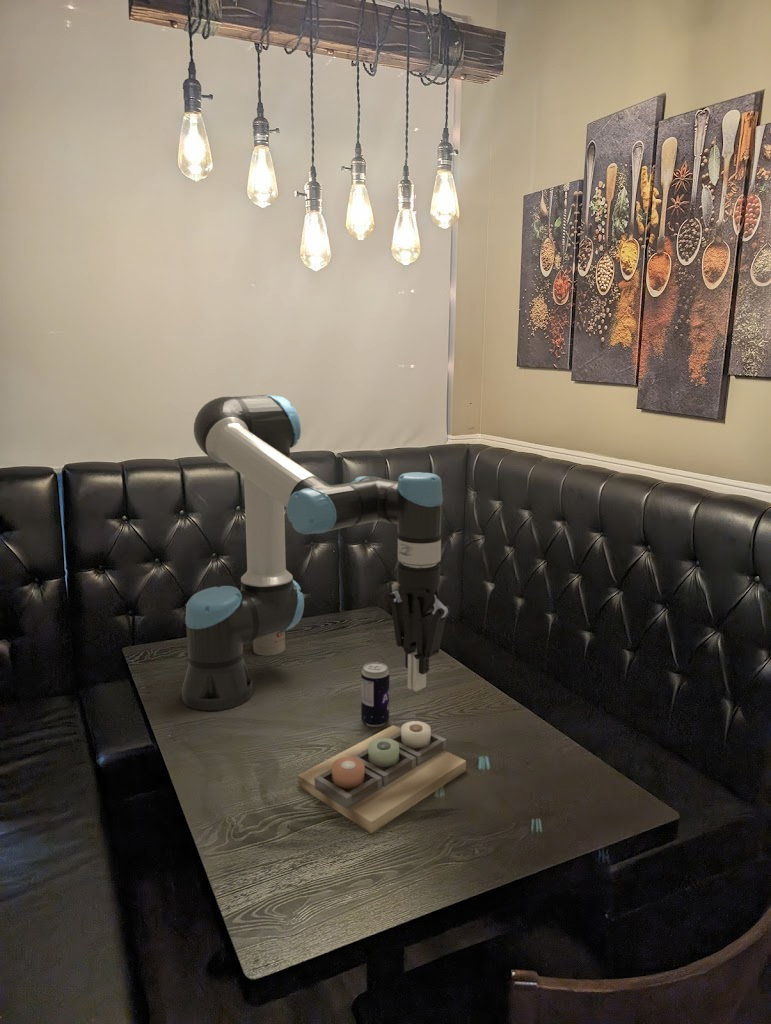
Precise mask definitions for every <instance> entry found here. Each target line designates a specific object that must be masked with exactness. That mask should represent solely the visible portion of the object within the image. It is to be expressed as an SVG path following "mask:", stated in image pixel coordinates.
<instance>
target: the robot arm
mask: <svg viewBox="0 0 771 1024" xmlns="http://www.w3.org/2000/svg"><path fill="white" fill-rule="evenodd" d="M301 429H302V426H301V421H300V417H299V413H298V411H297V409H296V408H295V407H294V406H293V404H292V403H291V402H290V400H288V399H287V398H285V397H283V396H280V395H269V394H268V395H267V394H262V395H261V394H260V395H259V394H258V395H245V396H244V395H241V396H221V397H217V398H214V399H212V400H210V401H208V402H207V403H205V404H204V405H203V406H202V407H201V408H200V410H199V411H198V413H197V414H196V416H195V420H194V423H193V435H194V438H195V441H196V443H197V446H198V447H199V449H200V450H201V451H202V452H203V453H204V454H205V455H206V456H207V457H209V458H210V459H211V460H213V461H215V462H217V463H220V464H227V465H228V466H230V467H231V468H233V469H234V470H235V471H236V472H238V473H239V474H241V475H242V476H243V483H244V485H243V487H244V490H243V491H244V510H245V536H246V537H245V539H246V540H245V543H246V546H245V547H246V566H247V567H246V569H247V570H246V572H245V573H244V574H243V575H242V576H241V577H240V583H241V584H240V590H239V588H238V587H236V586H233V585H221V586H213V587H212V586H211V587H208V588H205V589H203V590H200V591H198V592H196V593H194V594H193V595H192V596H191V597H190V598H189V599H188V601H187V602H186V604H185V605H186V606H185V618H184V619H185V620H184V622H185V626H186V640H187V641H186V642H187V655H188V656H187V658H188V666H187V669H186V673H185V676H184V680H183V683H182V687H181V700H182V702H183V703H184V705H186V706H187V707H188V708H191V709H194V710H199V711H220V710H221V711H222V710H226V709H228V710H229V709H231V708H234V707H237V706H239V705H243V703H245V702H246V701H248V700H249V699H250V698H251V697H252V695H253V680H252V677H251V676H250V675H251V674H250V673H249V670H248V667H247V665H246V663H245V659H244V644H247V643H251V642H253V641H254V640H257V639H260V638H264V637H267V636H270V635H274V634H279V633H282V632H284V631H287V630H290V629H293V628H294V627H296V626H297V625H298V624H299V622H300V621H301V619H302V617H303V614H304V610H305V609H304V608H305V598H304V593H303V592H302V591H301V590H302V588H301V586H300V585H299V583H298V582H297V581H296V580H294V578H293V574H291V572H289V570H287V568H286V566H287V565H286V564H287V562H286V523H285V522H286V521H285V520H286V519H285V518H286V517H285V508H286V513H287V518H288V521H289V523H291V524H292V528H293V530H295V531H296V532H297V533H299V534H302V535H311V534H313V535H314V534H317V535H320V534H325V533H327V532H330V531H335V530H339V529H343V528H348V527H355V526H358V525H359V526H360V525H364V524H369V523H373V522H385V523H388V524H393V525H397V560H398V563H397V565H396V566H397V569H396V571H397V573H396V575H397V576H396V583H397V584H398V585H399V586H398V587H397V590H395V591H393V592H388V593H387V594H386V595H387V599H388V602H389V605H390V607H391V614H392V621H393V627H394V636H395V641H396V645H397V646H398V647H401V648H402V649H403V651H404V653H405V657H404V658H405V659H404V663H405V668H406V669H407V686H406V687H407V689H409V690H412V691H413V692H418V691H420V690H422V689H424V688H427V673H428V672H429V671H430V658H431V657H433V656H436V655H437V654H439V653H440V648H441V644H442V638H443V634H444V630H445V625H446V620H447V617H448V616H449V614H450V613H451V610H452V608H451V607H450V606H449V605H444V604H443V603H442V601H440V594H439V591H438V588H439V585H440V583H441V564H440V562H441V559H442V558H441V557H442V533H441V531H442V513H443V502H444V498H443V487H442V485H443V484H442V479H441V477H440V476H439V475H437V474H436V473H431V472H421V471H415V472H414V471H413V472H404V473H401V474H400V475H399V476H398V479H397V480H398V481H395V480H391V479H386V478H381V477H378V476H372V475H371V476H367V475H365V476H364V475H363V476H358V477H356V478H355V479H353V481H351V482H347V483H346V482H345V483H341V484H339V483H338V484H329V483H327V482H325V481H324V480H322V479H321V478H319V477H317V476H316V475H315V474H313V473H312V472H310V471H309V470H307V469H306V468H304V467H303V466H301V465H300V464H298V463H297V462H295V461H294V460H293V459H291V449H292V448H294V447H295V446H296V445H297V444H298V443H299V440H300V438H301V433H302V432H301V431H302V430H301Z"/></svg>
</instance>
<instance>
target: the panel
mask: <svg viewBox="0 0 771 1024" xmlns="http://www.w3.org/2000/svg"><path fill="white" fill-rule="evenodd" d="M379 738H388V739H392V740H394V741H396V742H397V743H398V744H399V761H398V763H397V764H395V765H393V766H390V767H377V766H374V765H372V764H371V763H370V762H369V760H368V745H369V743H370V742H371V741H373V740H375V739H379ZM343 757H355V758H358V759H360V760H362V761H363V763H364V766H365V769H364V782H363V783H362V784H361V785H359V786H357V787H354V788H341V787H338V786H336V785H335V784H334V783H333V781H332V764H333V763H334V762H335V761H336V760H337V759H340V758H343ZM466 771H467V760H465V759H464V758H461V757H459V756H458V755H455V754H453V753H451V752H449V751H447V738H444V737H442V736H440V735H438V734H437V733H434V732H432V731H431V738H430V744H429V745H428V746H426V747H423V748H410V747H407V746H405V745H404V744H403V743H402V742H401V727H398V726H396V725H394V724H392V725H390V726H389V727H386V728H385V729H383V730H381V731H379V732H377V733H375V734H373V735H372V736H370V737H367V738H366V739H364V740H362V741H360V742H358V743H356V744H355V745H352V746H351V747H349V748H347V749H345V750H343V751H340V752H339V753H337V754H335V755H334V756H332V757H330V758H328V759H325V760H324V761H322V762H320V763H318V764H317V765H315V766H313V767H311V768H308V770H307V769H306V771H304V772H302V773H300V774H298V775H297V782H298V783H297V785H298V787H300V788H301V789H303V790H304V791H306V792H307V793H308V794H310V795H312V796H314V797H315V798H316V799H318V800H320V801H322V802H323V803H324V804H326V805H327V806H329V807H331V808H332V809H333V810H335V811H337V812H338V813H340V814H341V815H342V816H344V817H346V818H347V819H349V820H350V821H352V822H353V823H355V824H356V825H358V826H359V827H361V828H363V829H364V830H365V831H366V832H369V833H371V834H373V833H374V832H376V831H378V830H379V829H380V828H382V827H384V826H386V824H388V823H389V822H391V821H392V820H394V819H395V818H397V817H399V816H400V815H402V814H404V813H405V812H406V811H407V810H409V809H410V808H412V807H413V806H415V805H417V804H418V803H419V802H421V801H423V800H424V799H425V798H427V797H429V796H430V795H432V794H433V793H434V792H436V791H437V790H439V789H440V788H442V787H444V786H445V785H446V784H448V783H450V782H451V781H453V780H454V779H456V778H458V777H459V776H460V775H462V774H463V773H465V772H466Z"/></svg>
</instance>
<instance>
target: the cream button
mask: <svg viewBox="0 0 771 1024" xmlns="http://www.w3.org/2000/svg"><path fill="white" fill-rule="evenodd" d="M400 729H401V742H402V743H403V744H404V745H405V746H407V747H410V748H423V747H426V746H428V745H429V744H430V738H431V732H432V729H431V726H430V725H429V724H428V723H427V722H423V721H418V720H412V721H407V722H405V723H404V724H402V726H401V727H400Z"/></svg>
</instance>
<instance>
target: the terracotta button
mask: <svg viewBox="0 0 771 1024" xmlns="http://www.w3.org/2000/svg"><path fill="white" fill-rule="evenodd" d="M364 769H365V766H364V763H363V761H362V760H360V759H358V758H355V757H343V758H340V759H337V760H336V761H335V762H334V763H333V764H332V781H333V783H334V784H335V785H336V786H338V787H341V788H354V787H357V786H359V785H361V784H362V783H363V782H364Z"/></svg>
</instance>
